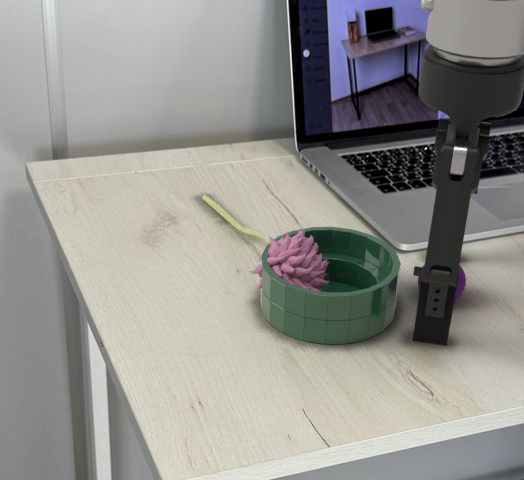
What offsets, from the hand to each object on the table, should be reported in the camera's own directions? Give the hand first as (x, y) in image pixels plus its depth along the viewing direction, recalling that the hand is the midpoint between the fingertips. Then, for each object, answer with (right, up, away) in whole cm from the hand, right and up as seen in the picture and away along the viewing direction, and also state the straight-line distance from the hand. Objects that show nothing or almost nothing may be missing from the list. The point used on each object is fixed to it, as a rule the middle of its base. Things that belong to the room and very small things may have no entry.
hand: (436, 299), depth 76 cm
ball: (0, +1, -1) cm, 2 cm away
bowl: (-10, -1, -1) cm, 10 cm away
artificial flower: (-16, +4, +5) cm, 18 cm away
